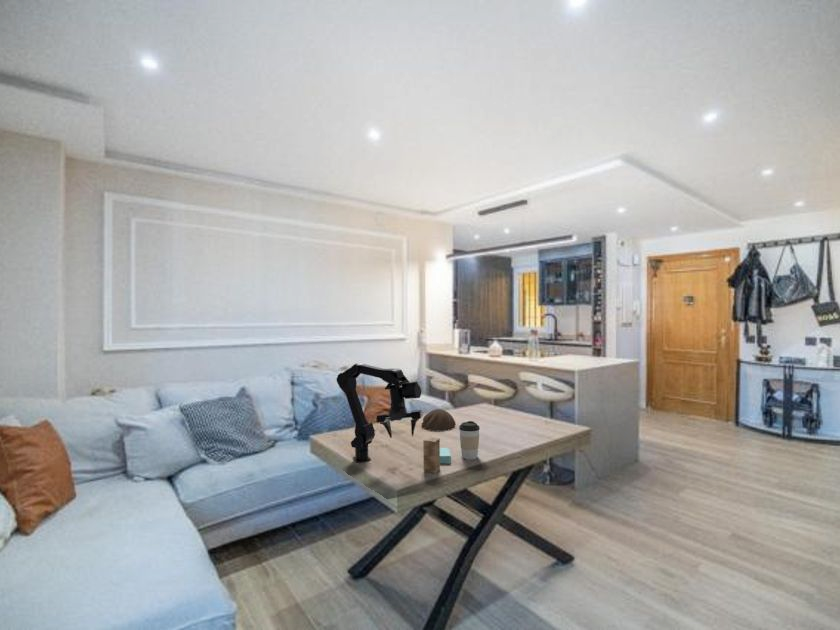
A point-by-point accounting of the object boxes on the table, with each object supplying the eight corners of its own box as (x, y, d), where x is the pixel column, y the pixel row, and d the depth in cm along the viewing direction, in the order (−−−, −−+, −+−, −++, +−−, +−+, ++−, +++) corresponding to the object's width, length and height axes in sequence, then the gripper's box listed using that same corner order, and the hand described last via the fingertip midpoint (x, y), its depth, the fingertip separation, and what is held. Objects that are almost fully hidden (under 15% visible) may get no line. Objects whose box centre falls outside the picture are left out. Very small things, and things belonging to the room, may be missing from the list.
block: (423, 471, 167) (423, 440, 167) (428, 467, 172) (428, 437, 172) (435, 473, 165) (434, 441, 165) (439, 468, 170) (439, 438, 170)
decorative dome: (457, 431, 226) (457, 412, 226) (421, 431, 226) (421, 413, 226) (454, 422, 245) (454, 405, 245) (421, 422, 245) (421, 405, 245)
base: (424, 463, 176) (424, 456, 176) (424, 454, 187) (424, 448, 187) (450, 463, 176) (450, 456, 176) (449, 454, 187) (449, 447, 187)
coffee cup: (477, 461, 178) (476, 426, 178) (456, 458, 181) (456, 424, 181) (482, 454, 186) (481, 421, 186) (462, 452, 190) (462, 419, 190)
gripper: (370, 404, 167) (375, 443, 166) (416, 400, 165) (420, 439, 164) (377, 400, 178) (382, 436, 177) (420, 396, 176) (424, 433, 175)
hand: (401, 436), depth 173 cm, fingers open, 9 cm apart
